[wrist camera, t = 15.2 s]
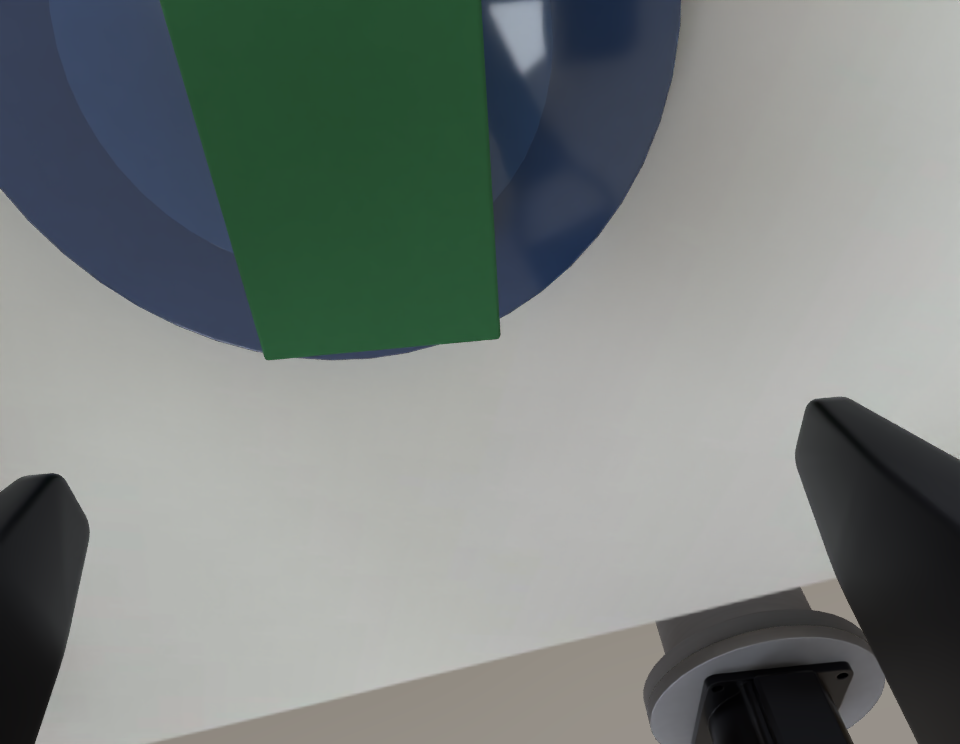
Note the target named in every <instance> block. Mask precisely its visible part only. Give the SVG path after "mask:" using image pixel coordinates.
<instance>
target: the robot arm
mask: <svg viewBox="0 0 960 744" xmlns="http://www.w3.org/2000/svg"><path fill="white" fill-rule="evenodd" d="M795 460H796V466H797V470H798V473H799V475H800V478H801V481H802V484H803V487H804V489H805V492H806V495H807V498H808V501H809V503H810V506H811V509H812V512H813V515H814V517H815V520H816V523H817V526H818V529H819V531H820V534H821V537H822V540H823V543H824V545H825V548H826V551H827V554H828V556H829V559H830V562H831V564H832V567H833V570H834V572H835V575H836V577H837V579H838V581H839V584H840V586H841V588H842V590H843V592H844V595H845V597H846V599H847V601H848V603H849V605H850V607H851V609H852V611H853V613H854V615H855V617H856V619H857V621H858V623H859V625H860V627H861V629H862V631H863V633H864V635H865V637H866V639H867V641H868V643H869V645H870V647H871V649H872V651H873V653H874V655H875V658H876V660H877V662H878V664H879V666H880V668H881V670H882V672H883V674H884V676H885V678H886V680H887V682H888V684H889V686H890V688H891V690H892V692H893V694H894V696H895V698H896V700H897V702H898V704H899V706H900V708H901V710H902V712H903V714H904V716H905V718H906V720H907V722H908V724H909V726H910V728H911V730H912V732H913V734H914V737H915V738H916V741H917V742H918V744H960V460H959V459H957V458H955V457H953V456H951V455H950V454H948V453H946V452H944V451H942V450H941V449H939V448H937V447H935V446H933V445H932V444H930V443H928V442H926V441H925V440H923V439H921V438H919V437H917V436H916V435H914V434H912V433H910V432H908V431H907V430H905V429H903V428H901V427H899V426H898V425H896V424H894V423H892V422H890V421H889V420H887V419H885V418H883V417H882V416H880V415H878V414H876V413H874V412H873V411H871V410H869V409H867V408H865V407H864V406H862V405H860V404H858V403H856V402H855V401H853V400H851V399H849V398H846V397H831V398H821V399H814V400H812V401H810V402H809V403H808V405H807V407H806V409H805V413H804V417H803V421H802V425H801V429H800V433H799V437H798V441H797V445H796V450H795ZM89 533H90V530H89V524H88V520H87V518H86V516H85V514H84V512H83V510H82V509H81V507H80V505H79V503H78V501H77V500H76V498H75V496H74V494H73V493H72V491H71V489H70V487H69V485H68V484H67V482H66V480H65V479H64V478H63V477H62V476H60V475H59V474H54V473H49V474H39V475H29V476H24V477H21V478H19V479H17V480H16V481H14V482H13V483H12V484H10V485H9V486H8V487H6V488H5V489H4V490H2V491H1V492H0V744H35V741H36V738H37V735H38V732H39V729H40V726H41V723H42V720H43V717H44V714H45V711H46V708H47V705H48V702H49V699H50V696H51V693H52V690H53V687H54V684H55V681H56V678H57V675H58V672H59V669H60V666H61V662H62V659H63V656H64V652H65V648H66V644H67V640H68V636H69V631H70V627H71V622H72V617H73V612H74V608H75V603H76V598H77V594H78V589H79V584H80V580H81V575H82V570H83V566H84V561H85V556H86V552H87V547H88V542H89ZM853 675H854V672H853V670H852V668H851V666H850V664H849V663H848V662H845V661H838V662H828V663H819V664H809V665H799V666H789V667H779V668H770V669H760V670H750V671H740V672H730V673H721V674H714V675H711V676H708V677H707V678H706V679H705V680H704V683H703V688H702V692H701V697H700V702H699V707H698V712H697V717H696V721H695V726H694V731H693V736H692V741H691V744H854V743H853V741H852V739H851V737H850V735H849V733H848V731H847V729H846V726H845V724H844V722H843V720H842V718H841V716H840V714H839V712H838V710H839V708H840V706H841V703H842V701H843V699H844V696H845V694H846V692H847V689H848V687H849V685H850V682H851V680H852V677H853Z"/></svg>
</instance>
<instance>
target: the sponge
mask: <svg viewBox="0 0 960 744" xmlns="http://www.w3.org/2000/svg"><path fill="white" fill-rule="evenodd" d="M160 4H161V7H162V11H163V14H164V17H165V21H166V24H167V28H168V31H169V34H170V38H171V41H172V45H173V48H174V51H175V55H176V58H177V62H178V65H179V68H180V72H181V75H182V79H183V82H184V85H185V89H186V92H187V96H188V99H189V102H190V106H191V109H192V113H193V116H194V119H195V123H196V126H197V130H198V133H199V136H200V140H201V143H202V147H203V150H204V153H205V157H206V160H207V164H208V167H209V170H210V174H211V177H212V181H213V184H214V187H215V191H216V194H217V198H218V201H219V204H220V208H221V211H222V215H223V218H224V221H225V225H226V228H227V232H228V235H229V238H230V242H231V245H232V249H233V252H234V255H235V259H236V262H237V266H238V269H239V273H240V276H241V279H242V283H243V286H244V290H245V293H246V296H247V300H248V303H249V307H250V310H251V313H252V317H253V320H254V324H255V327H256V330H257V334H258V337H259V341H260V344H261V347H262V351H263V354H264V357H265V359H266V360H277V359H287V358H298V357H309V356H320V355H330V354H341V353H352V352H363V351H374V350H384V349H395V348H406V347H417V346H427V345H438V344H449V343H460V342H471V341H481V340H492V339H498V338H499V337H500V318H499V300H498V283H497V266H496V248H495V231H494V214H493V196H492V179H491V162H490V144H489V127H488V110H487V92H486V75H485V58H484V40H483V23H482V6H481V0H160Z"/></svg>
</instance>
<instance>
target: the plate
mask: <svg viewBox="0 0 960 744" xmlns="http://www.w3.org/2000/svg"><path fill="white" fill-rule="evenodd" d="M481 6H482V23H483V40H484V58H485V75H486V92H487V110H488V127H489V144H490V162H491V179H492V196H493V214H494V231H495V248H496V266H497V283H498V300H499V318H501V317H503V316H505V315H507V314H509V313H511V312H512V311H514V310H515V309H517V308H518V307H520V306H521V305H523V304H524V303H526V302H527V301H528V300H530V299H531V298H533V297H534V296H536V295H537V294H539V293H540V292H542V291H543V290H544V289H545V288H546V287H547V286H549V285H550V284H551V283H552V282H553V281H554V280H556V279H557V278H558V277H559V276H560V275H561V274H562V273H564V272H565V271H566V270H567V269H568V268H569V267H571V266H572V264H573V263H574V262H575V261H576V260H577V259H578V258H579V257H580V256H581V255H582V253H583V252H584V251H585V250H586V249H587V248H588V247H589V246H590V245H591V244H592V242H593V241H594V240H595V239H596V238H597V237H598V236H599V234H600V233H601V232H602V230H603V229H604V227H605V226H606V225H607V223H608V222H609V220H610V219H611V218H612V216H613V215H614V213H615V212H616V211H617V209H618V208H619V206H620V205H621V204H622V202H623V200H624V198H625V197H626V195H627V193H628V191H629V189H630V188H631V186H632V184H633V182H634V180H635V178H636V177H637V175H638V173H639V171H640V169H641V167H642V166H643V164H644V161H645V159H646V156H647V154H648V151H649V149H650V146H651V144H652V141H653V139H654V136H655V134H656V132H657V129H658V127H659V124H660V122H661V118H662V114H663V111H664V107H665V103H666V100H667V96H668V92H669V88H670V85H671V81H672V77H673V72H674V66H675V59H676V52H677V45H678V39H679V32H680V25H681V0H481ZM0 189H1V190H2V191H3V192H4V193H5V194H6V196H7V197H8V198H9V199H10V200H11V201H12V203H13V204H14V205H15V206H16V207H17V208H18V209H19V211H20V212H21V213H22V214H23V215H24V216H25V218H26V219H27V220H28V221H29V222H30V223H31V224H32V225H33V226H34V227H35V228H37V229H38V230H39V231H40V232H41V233H42V234H43V235H44V236H45V237H46V238H47V239H48V240H49V241H50V242H51V243H52V244H54V245H55V246H56V247H57V248H58V249H59V250H60V251H61V252H62V253H63V254H64V255H66V256H67V257H68V258H69V259H71V260H72V261H73V262H75V263H76V264H77V265H78V266H80V267H81V268H82V269H84V270H85V271H86V272H87V273H89V274H90V275H91V276H93V277H94V278H95V279H97V280H98V281H99V282H100V283H102V284H104V285H105V286H107V287H108V288H110V289H112V290H113V291H115V292H116V293H118V294H119V295H121V296H123V297H124V298H126V299H127V300H129V301H131V302H132V303H134V304H135V305H137V306H139V307H141V308H143V309H145V310H147V311H149V312H151V313H153V314H155V315H157V316H159V317H161V318H163V319H165V320H167V321H169V322H171V323H173V324H175V325H177V326H179V327H182V328H184V329H187V330H189V331H192V332H195V333H197V334H200V335H202V336H205V337H208V338H210V339H213V340H216V341H219V342H223V343H226V344H230V345H234V346H237V347H241V348H245V349H248V350H252V351H256V352H262V353H263V351H262V347H261V344H260V341H259V337H258V334H257V330H256V327H255V324H254V320H253V317H252V313H251V310H250V307H249V303H248V300H247V296H246V293H245V290H244V286H243V283H242V279H241V276H240V273H239V269H238V266H237V262H236V259H235V255H234V252H233V249H232V245H231V242H230V238H229V235H228V232H227V228H226V225H225V221H224V218H223V215H222V211H221V208H220V204H219V201H218V198H217V194H216V191H215V187H214V184H213V181H212V177H211V174H210V170H209V167H208V164H207V160H206V157H205V153H204V150H203V147H202V143H201V140H200V136H199V133H198V130H197V126H196V123H195V119H194V116H193V113H192V109H191V106H190V102H189V99H188V96H187V92H186V89H185V85H184V82H183V79H182V75H181V72H180V68H179V65H178V62H177V58H176V55H175V51H174V48H173V45H172V41H171V38H170V34H169V31H168V28H167V24H166V21H165V17H164V14H163V11H162V7H161V4H160V0H0ZM438 345H439V344H438ZM432 346H436V345H427V346H417V347H406V348H395V349H384V350H374V351H363V352H352V353H341V354H330V355H320V356H309V357H298V358H305V359H321V360H349V359H371V358H377V357H384V356H391V355H398V354H404V353H409V352H413V351H417V350H420V349H424V348H428V347H432Z"/></svg>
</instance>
